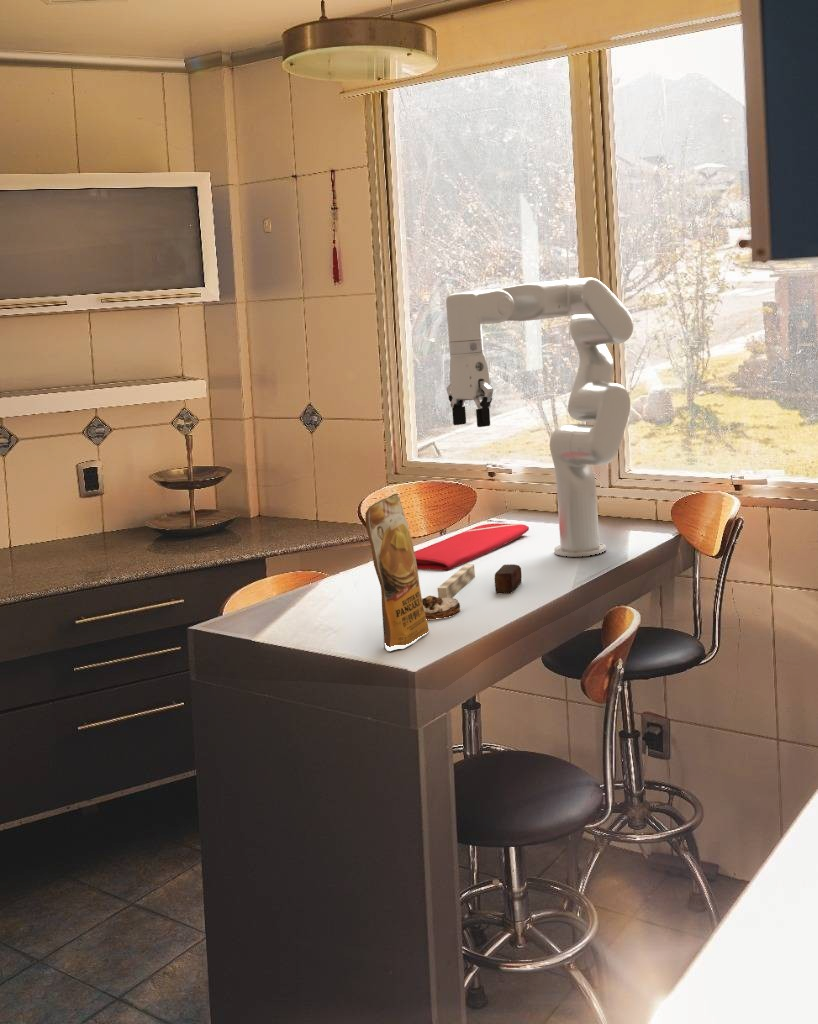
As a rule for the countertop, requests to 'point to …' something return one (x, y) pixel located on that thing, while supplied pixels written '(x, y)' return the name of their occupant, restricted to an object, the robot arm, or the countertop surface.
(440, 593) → the beige long bar
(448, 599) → the cream topped tart
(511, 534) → the dish drying mat
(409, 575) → the pancake mix bag
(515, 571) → the brick
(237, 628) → the countertop surface
